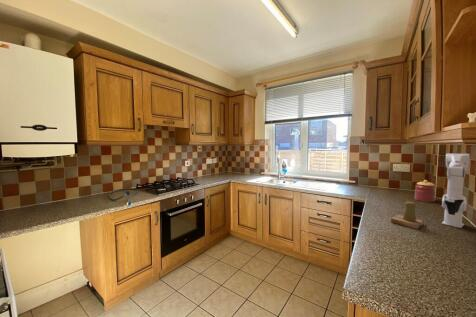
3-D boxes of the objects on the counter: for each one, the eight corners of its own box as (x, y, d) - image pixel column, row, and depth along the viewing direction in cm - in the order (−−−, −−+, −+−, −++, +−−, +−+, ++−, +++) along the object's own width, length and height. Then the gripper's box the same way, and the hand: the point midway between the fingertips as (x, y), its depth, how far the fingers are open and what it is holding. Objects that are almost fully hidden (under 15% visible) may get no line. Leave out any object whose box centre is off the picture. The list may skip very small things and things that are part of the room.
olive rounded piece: (402, 217, 124) (403, 200, 123) (415, 219, 120) (416, 201, 119) (403, 220, 119) (404, 202, 118) (416, 222, 115) (417, 204, 115)
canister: (437, 203, 160) (438, 181, 159) (416, 201, 167) (417, 180, 166) (432, 199, 171) (433, 179, 170) (412, 197, 178) (413, 178, 177)
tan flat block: (398, 218, 129) (398, 214, 129) (422, 224, 119) (423, 220, 119) (390, 222, 122) (391, 218, 122) (416, 229, 112) (416, 224, 112)
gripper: (447, 186, 115) (446, 209, 115) (441, 188, 107) (439, 213, 107) (466, 188, 109) (464, 212, 109) (460, 191, 101) (458, 217, 101)
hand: (453, 213), depth 108 cm, fingers open, 7 cm apart
